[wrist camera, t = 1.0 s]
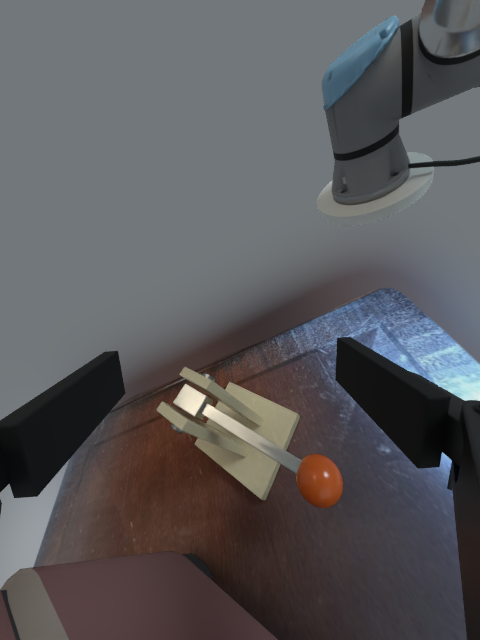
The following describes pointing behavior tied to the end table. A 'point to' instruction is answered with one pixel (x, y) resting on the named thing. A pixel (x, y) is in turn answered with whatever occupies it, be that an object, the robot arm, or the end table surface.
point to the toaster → (123, 602)
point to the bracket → (229, 448)
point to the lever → (273, 451)
